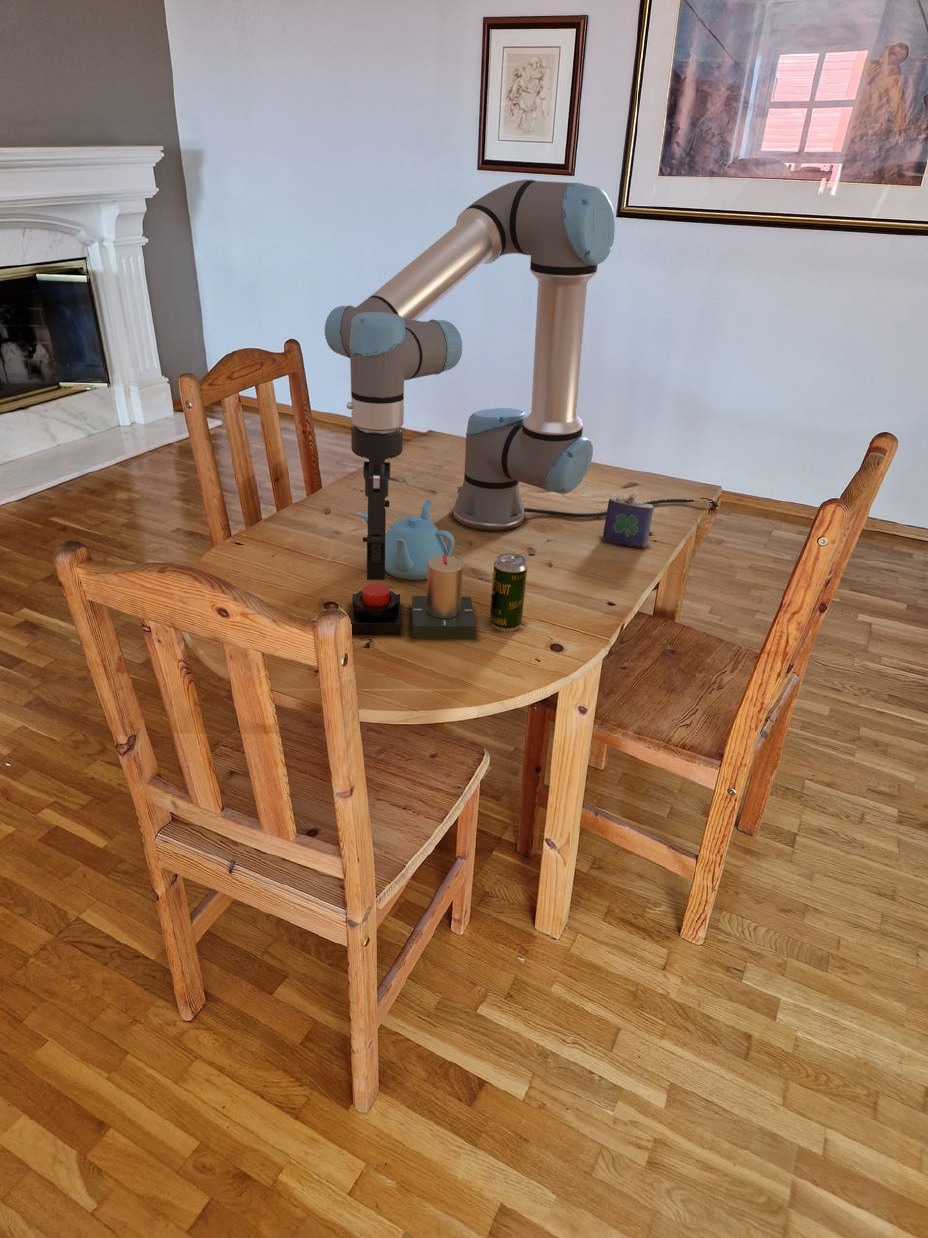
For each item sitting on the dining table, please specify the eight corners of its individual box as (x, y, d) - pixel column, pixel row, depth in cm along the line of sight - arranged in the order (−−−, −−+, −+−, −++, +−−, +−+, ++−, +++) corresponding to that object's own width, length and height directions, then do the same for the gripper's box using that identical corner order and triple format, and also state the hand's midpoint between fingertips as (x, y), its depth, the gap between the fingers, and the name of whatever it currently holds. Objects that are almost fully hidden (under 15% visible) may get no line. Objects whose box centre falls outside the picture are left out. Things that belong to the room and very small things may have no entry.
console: (469, 609, 139) (470, 595, 138) (475, 639, 130) (476, 625, 129) (411, 608, 138) (412, 594, 137) (412, 639, 129) (413, 624, 128)
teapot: (465, 577, 150) (469, 525, 145) (392, 593, 143) (393, 539, 137) (427, 546, 160) (429, 498, 155) (358, 560, 153) (357, 509, 148)
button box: (399, 605, 139) (400, 584, 137) (400, 635, 130) (400, 614, 128) (352, 605, 138) (352, 584, 136) (350, 635, 129) (349, 613, 127)
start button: (389, 594, 134) (389, 583, 133) (389, 607, 131) (389, 596, 130) (362, 594, 134) (362, 583, 133) (361, 607, 130) (361, 595, 129)
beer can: (502, 613, 139) (508, 549, 133) (527, 624, 136) (534, 559, 130) (482, 624, 135) (487, 558, 129) (508, 636, 132) (514, 569, 126)
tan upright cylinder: (461, 618, 131) (464, 570, 126) (426, 618, 130) (428, 569, 126) (458, 602, 136) (461, 554, 131) (425, 601, 135) (427, 553, 131)
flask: (647, 545, 167) (656, 496, 162) (645, 550, 165) (653, 500, 159) (603, 536, 170) (611, 487, 165) (600, 541, 168) (607, 492, 162)
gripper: (354, 403, 128) (355, 531, 139) (347, 451, 107) (349, 596, 118) (402, 405, 129) (399, 532, 139) (404, 452, 108) (401, 597, 119)
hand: (376, 561), depth 129 cm, fingers open, 11 cm apart
